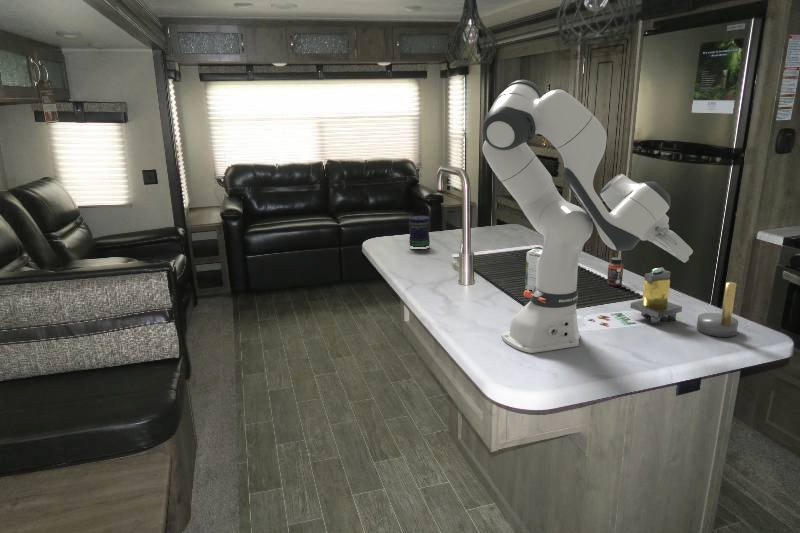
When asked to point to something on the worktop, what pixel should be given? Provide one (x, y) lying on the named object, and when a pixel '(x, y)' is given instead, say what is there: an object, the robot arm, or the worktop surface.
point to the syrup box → (531, 268)
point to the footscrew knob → (720, 317)
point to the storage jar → (419, 231)
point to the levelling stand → (657, 297)
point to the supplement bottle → (615, 272)
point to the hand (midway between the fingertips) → (684, 259)
